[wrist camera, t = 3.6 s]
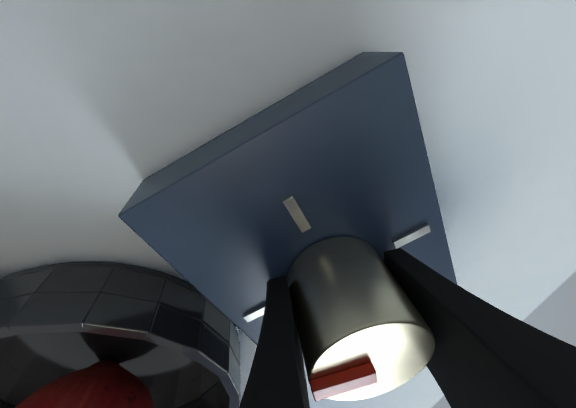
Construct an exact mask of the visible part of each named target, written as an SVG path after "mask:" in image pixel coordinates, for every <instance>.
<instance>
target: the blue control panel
mask: <svg viewBox="0 0 576 408" xmlns="http://www.w3.org/2000/svg"><path fill="white" fill-rule="evenodd" d="M118 216H119V218H120V219H121V220H123V221H124V222H125V223H126V224H127V225H128V226H129V227H130V228H131V229H132V230H133V231H134V232H136V233H137V234H138V235H139V236H140V237H141V238H142V239H143V240H144V241H145V242H146V243H147V244H148V245H150V246H151V247H152V248H153V249H154V250H155V251H156V252H157V253H158V254H159V255H160V256H161V257H163V258H164V259H165V260H166V261H167V262H168V263H169V264H170V265H171V266H172V267H173V268H174V269H175V270H177V271H178V272H179V273H180V274H181V275H182V276H183V277H184V278H185V279H186V280H187V281H188V282H190V283H191V284H192V285H193V286H194V287H195V288H196V289H197V290H198V291H199V292H200V293H201V294H202V295H204V296H205V297H206V298H207V299H208V300H209V301H210V302H211V303H212V304H213V305H214V306H215V307H217V308H218V309H219V310H220V311H221V312H222V313H223V314H224V315H225V316H226V317H227V318H228V319H229V320H231V321H232V322H233V323H234V324H235V325H236V326H237V327H238V328H239V329H240V330H241V331H242V332H244V333H245V334H246V335H247V336H248V337H249V338H250V339H251V340H252V341H253V342H254V343H255V344H256V345H257V344H258V340H259V335H260V330H261V325H262V320H263V315H264V308H265V301H266V290H267V281H268V280H269V279H273V278H277V277H281V276H285V275H286V278H288V273H289V270H290V268H291V265H292V264H293V262H294V261H295V259H296V258H297V257H298V256H299V255H300V254H301V253H302V252H303V251H304V250H305V249H307V248H308V247H310V246H311V245H313V244H315V243H317V242H319V241H322V240H325V239H328V238H332V237H339V236H348V237H354V238H358V239H361V240H363V241H365V242H367V243H368V244H370V245H371V246H372V247H373V248H374V249H375V251H376V252H377V254H378V255H379V256H380V258H381V259H382V261H383V262H384V252H385V251H389V250H393V249H397V248H401V249H403V250H404V251H406V252H407V253H409V254H410V255H412V256H413V257H415V258H416V259H418V260H419V261H421V262H422V263H424V264H425V265H427V266H428V267H430V268H431V269H433V270H434V271H436V272H438V273H439V274H441V275H442V276H444V277H445V278H447V279H448V280H450V281H452V282H453V283H455V284H457V282H456V278H455V273H454V269H453V265H452V260H451V256H450V252H449V247H448V243H447V239H446V234H445V230H444V226H443V222H442V217H441V213H440V209H439V204H438V200H437V196H436V191H435V187H434V183H433V178H432V174H431V170H430V165H429V161H428V157H427V152H426V148H425V144H424V139H423V135H422V131H421V126H420V122H419V118H418V113H417V109H416V105H415V100H414V96H413V92H412V87H411V83H410V79H409V74H408V70H407V66H406V61H405V57H404V54H403V52H363V53H361V54H359V55H358V56H356V57H354V58H352V59H351V60H349V61H347V62H346V63H344V64H342V65H340V66H339V67H337V68H335V69H334V70H332V71H330V72H328V73H327V74H325V75H323V76H322V77H320V78H318V79H316V80H315V81H313V82H311V83H310V84H308V85H306V86H304V87H303V88H301V89H299V90H297V91H296V92H294V93H292V94H291V95H289V96H287V97H285V98H284V99H282V100H280V101H279V102H277V103H275V104H273V105H272V106H270V107H268V108H267V109H265V110H263V111H261V112H260V113H258V114H256V115H255V116H253V117H251V118H249V119H248V120H246V121H244V122H243V123H241V124H239V125H237V126H236V127H234V128H232V129H230V130H229V131H227V132H225V133H224V134H222V135H220V136H218V137H217V138H215V139H213V140H212V141H210V142H208V143H206V144H205V145H203V146H201V147H200V148H198V149H196V150H194V151H193V152H191V153H189V154H188V155H186V156H184V157H182V158H181V159H179V160H177V161H176V162H174V163H172V164H170V165H169V166H167V167H165V168H164V169H162V170H160V171H158V172H157V173H155V174H153V175H151V176H150V177H148V178H146V179H145V180H143V181H142V183H141V184H140V186H139V187H138V188H137V190H136V191H135V192H134V194H133V195H132V197H131V198H130V199H129V201H128V202H127V203H126V205H125V206H124V208H123V209H122V210H121V212H120V213H119V215H118ZM302 354H303V353H302ZM303 362H304V358H303ZM304 369H305V377H306V379H307V378H308V376H307V372H306V367H305V363H304Z"/></svg>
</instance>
